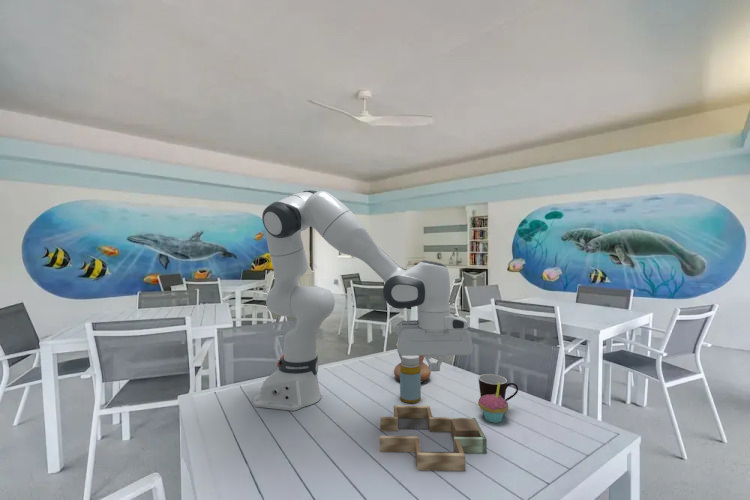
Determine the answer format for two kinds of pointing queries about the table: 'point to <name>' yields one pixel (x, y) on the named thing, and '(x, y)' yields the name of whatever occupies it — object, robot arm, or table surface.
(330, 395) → the table surface
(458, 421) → the block
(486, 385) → the coffee mug
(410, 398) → the bottle
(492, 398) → the cupcake
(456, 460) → the box
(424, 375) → the ceramic jug
